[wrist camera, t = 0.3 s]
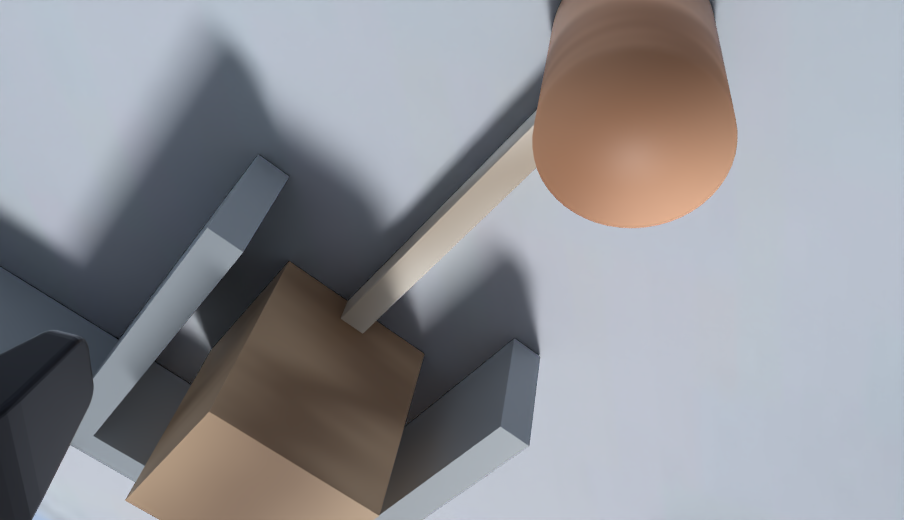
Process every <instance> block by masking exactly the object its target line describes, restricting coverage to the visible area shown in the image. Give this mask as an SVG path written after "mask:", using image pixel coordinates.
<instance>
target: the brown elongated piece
mask: <svg viewBox="0 0 904 520" xmlns="http://www.w3.org/2000/svg"><path fill="white" fill-rule="evenodd" d="M736 147H737V125H736V118H735V114H734V109H733V104H732V99H731V95H730V90H729V85H728V80H727V76H726V71H725V66H724V61H723V57H722V52H721V47H720V42H719V38H718V33H717V28H716V23H715V19H714V14H713V10H712V7H711V4H710V2H709V0H562V1H561V3H560V5H559V7H558V10H557V12H556V15H555V19H554V22H553V27H552V33H551V38H550V43H549V49H548V54H547V59H546V64H545V70H544V75H543V80H542V85H541V91H540V96H539V101H538V106H537V110H536V111H535V112H534V113H533V114H532V115H531V116H530V117H529V118H528V119H527V120H526V121H525V122H524V123H523V124H522V125H521V126H520V127H519V128H518V129H517V130H516V131H515V132H514V133H513V134H512V135H511V136H510V137H509V138H508V139H507V140H506V141H505V142H504V143H503V144H502V145H501V146H500V147H499V148H498V149H497V150H496V151H495V152H494V153H493V154H492V155H491V156H490V158H489V159H488V160H487V161H486V162H485V163H484V164H483V165H482V166H481V167H480V168H479V169H478V170H477V171H476V172H475V173H474V174H473V175H472V176H471V177H470V178H469V179H468V180H467V181H466V182H465V183H464V184H463V185H462V186H461V187H460V188H459V189H458V190H457V191H456V192H455V193H454V194H453V195H452V196H451V197H450V198H449V199H448V200H447V201H446V202H445V203H444V204H443V205H442V206H441V207H440V208H439V209H438V210H437V211H436V212H435V213H434V214H433V215H432V216H431V217H430V218H429V219H428V220H427V221H426V222H425V223H424V224H423V225H422V226H421V227H420V228H419V229H418V230H417V231H416V233H415V234H414V235H413V236H412V237H411V238H410V239H409V240H408V241H407V242H406V243H405V244H404V245H403V246H402V247H401V248H400V249H399V250H398V251H397V252H396V253H395V254H394V255H393V256H392V257H391V258H390V259H389V260H388V261H387V262H386V263H385V264H384V265H383V266H382V267H381V268H380V269H379V270H378V271H377V272H376V273H375V274H374V275H373V276H372V277H371V278H370V279H369V280H368V281H367V282H366V283H365V284H364V285H363V286H362V287H361V288H360V289H359V290H358V291H357V292H356V293H355V294H354V295H353V296H352V297H351V298H350V299H349V300H348V301H347V300H345V299H344V298H342V297H341V296H339V295H338V294H336V293H335V292H334V291H332V290H331V289H329V288H328V287H326V286H325V285H323V284H322V283H320V282H319V281H318V280H316V279H315V278H313V277H312V276H310V275H309V274H307V273H306V272H304V271H303V270H302V269H300V268H299V267H297V266H296V265H294V264H293V263H291V262H290V261H289V262H288V263H287V264H286V265H285V266H284V267H283V268H282V270H281V271H280V272H279V273H278V274H277V275H276V276H275V278H274V279H273V280H272V281H271V282H270V283H269V284H268V286H267V287H266V288H265V289H264V290H263V291H262V292H261V294H260V295H259V296H258V297H257V298H256V299H255V300H254V302H253V303H252V304H251V305H250V306H249V307H248V308H247V310H246V311H245V312H244V313H243V314H242V315H241V316H240V318H239V319H238V320H237V321H236V322H235V323H234V324H233V326H232V327H231V328H230V329H229V330H228V331H227V332H226V334H225V335H224V336H223V337H222V338H221V339H220V340H219V342H218V343H217V344H216V345H215V346H214V347H213V348H212V350H211V351H210V353H209V355H208V356H207V358H206V360H205V362H204V363H203V365H202V367H201V369H200V370H199V372H198V374H197V376H196V377H195V379H194V381H193V383H192V384H191V386H190V388H189V390H188V391H187V393H186V395H185V397H184V398H183V400H182V402H181V404H180V405H179V407H178V409H177V411H176V412H175V414H174V416H173V418H172V419H171V421H170V423H169V425H168V426H167V428H166V430H165V432H164V433H163V435H162V437H161V439H160V440H159V442H158V444H157V446H156V447H155V449H154V451H153V453H152V454H151V456H150V458H149V460H148V461H147V463H146V465H145V467H144V468H143V470H142V472H141V474H140V475H139V477H138V479H137V481H136V482H135V484H134V486H133V488H132V489H131V491H130V493H129V494H128V496H127V498H126V500H125V501H127V502H129V503H131V504H132V505H134V506H136V507H138V508H139V509H141V510H143V511H145V512H147V513H148V514H150V515H152V516H154V517H155V518H157V519H159V520H374V519H376V518H377V517H379V515H380V512H381V508H382V505H383V501H384V497H385V494H386V490H387V487H388V483H389V479H390V476H391V472H392V469H393V465H394V462H395V458H396V454H397V451H398V447H399V444H400V440H401V437H402V433H403V429H404V426H405V422H406V419H407V415H408V411H409V408H410V404H411V401H412V397H413V394H414V390H415V386H416V383H417V379H418V376H419V372H420V369H421V365H422V361H423V358H424V353H422V352H421V351H419V350H418V349H417V348H415V347H414V346H412V345H411V344H409V343H408V342H406V341H405V340H403V339H402V338H401V337H399V336H398V335H396V334H395V333H393V332H392V331H390V330H389V329H387V328H386V327H385V326H383V325H382V324H380V323H379V322H377V320H378V319H379V318H380V317H381V316H382V315H383V314H384V313H385V312H386V311H387V310H388V309H389V308H390V307H391V306H392V305H393V304H394V303H395V302H396V301H397V300H398V299H400V298H401V297H402V296H403V295H404V294H405V293H406V292H407V291H408V290H409V289H410V288H411V287H412V286H413V285H414V284H415V283H416V282H417V281H418V280H419V279H420V278H421V277H422V276H424V275H425V274H426V273H427V272H428V271H429V270H430V269H431V268H432V267H433V266H434V265H435V264H436V263H437V262H438V261H439V260H440V259H441V258H442V257H443V256H444V255H445V254H447V253H448V252H449V251H450V250H451V249H452V248H453V247H454V246H455V245H456V244H457V243H458V242H459V241H460V240H461V239H462V238H463V237H464V236H465V235H466V234H467V233H468V232H469V231H471V230H472V229H473V228H474V227H475V226H476V225H477V224H478V223H479V222H480V221H481V220H482V219H483V218H484V217H485V216H486V215H487V214H488V213H489V212H490V211H491V210H492V209H494V208H495V207H496V206H497V205H498V204H499V203H500V202H501V201H502V200H503V199H504V198H505V197H506V196H507V195H508V194H509V193H510V192H511V191H512V190H513V189H514V188H515V187H517V186H518V185H519V184H520V183H521V182H522V181H523V180H524V179H525V178H526V177H527V176H528V175H529V174H530V173H531V172H532V171H533V170H534V169H535V168H536V167H537V170H538V172H539V174H540V177H541V179H542V181H543V182H544V184H545V185H546V187H547V188H548V190H549V191H550V192H551V193H552V194H553V195H554V197H555V198H556V199H557V200H558V201H560V202H561V203H562V204H563V205H564V206H565V207H567V208H568V209H570V210H571V211H573V212H574V213H576V214H578V215H580V216H582V217H583V218H586V219H588V220H591V221H593V222H596V223H600V224H603V225H607V226H613V227H620V228H641V227H650V226H655V225H660V224H663V223H667V222H670V221H673V220H675V219H678V218H680V217H682V216H684V215H686V214H688V213H690V212H692V211H693V210H695V209H696V208H697V207H699V206H700V205H702V204H703V203H704V202H705V201H706V200H708V199H709V198H710V197H711V196H712V195H713V194H714V193H715V191H716V190H717V189H718V188H719V187H720V185H721V184H722V182H723V181H724V179H725V178H726V176H727V174H728V172H729V170H730V168H731V166H732V163H733V160H734V157H735V154H736Z"/></svg>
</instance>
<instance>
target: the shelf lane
mask: <svg viewBox="0 0 904 520" xmlns="http://www.w3.org/2000/svg"><path fill="white" fill-rule="evenodd" d="M288 178H289V176H288V175H286V174H285V173H284V172H282V171H281V170H280V169H278V168H277V167H275V166H274V165H273V164H271V163H270V162H268V161H267V160H266V159H264V158H263V157H261V156H260V155H259V154H258V155H257V157H256V158H255V159H254V161H253V162H252V163H251V165H250V166H249V167H248V169H247V170H246V171H245V173H244V174H243V175H242V177H241V178H240V179H239V181H238V182H237V183H236V185H235V186H234V187H233V189H232V190H231V191H230V193H229V194H228V195H227V197H226V198H225V199H224V201H223V202H222V203H221V205H220V206H219V207H218V208H217V210H216V211H215V212H214V214H213V215H212V216H211V218H210V219H209V220H208V222H207V223H206V224H205V226H204V227H203V228H202V230H201V231H200V232H199V234H198V235H197V236H196V238H195V239H194V240H193V242H192V243H191V244H190V246H189V247H188V248H187V250H186V251H185V252H184V254H183V255H182V256H181V258H180V259H179V260H178V262H177V263H176V264H175V266H174V267H173V268H172V270H171V271H170V272H169V274H168V275H167V276H166V278H165V279H164V280H163V282H162V283H161V284H160V286H159V287H158V288H157V290H156V291H155V292H154V294H153V295H152V296H151V298H150V299H149V300H148V302H147V303H146V304H145V306H144V307H143V308H142V310H141V311H140V312H139V314H138V315H137V316H136V318H135V319H134V320H133V322H132V323H131V324H130V326H129V327H128V328H127V330H126V331H125V332H124V334H123V335H122V336H121V338H120V339H119V340H118V339H116V338H115V337H113V336H111V335H110V334H108V333H107V332H105V331H103V330H102V329H100V328H99V327H97V326H95V325H94V324H92V323H90V322H89V321H87V320H86V319H84V318H82V317H81V316H79V315H77V314H76V313H74V312H73V311H71V310H69V309H68V308H66V307H65V306H63V305H61V304H60V303H58V302H56V301H55V300H53V299H52V298H50V297H48V296H47V295H45V294H44V293H42V292H40V291H39V290H37V289H35V288H34V287H32V286H31V285H29V284H27V283H26V282H24V281H23V280H21V279H19V278H18V277H16V276H14V275H13V274H11V273H10V272H8V271H6V270H5V269H3V268H1V267H0V354H1V353H3V352H5V351H7V350H9V349H11V348H13V347H15V346H17V345H19V344H21V343H23V342H25V341H27V340H29V339H31V338H33V337H34V336H36V335H38V334H40V333H42V332H45V331H48V330H58V331H62V332H66V333H70V334H74V335H78V336H81V337H83V338H84V339H85V340H86V341H87V343H88V347H89V353H90V361H91V368H92V376H93V384H94V389H93V396H92V400H91V403H90V405H89V407H88V410H87V412H86V414H85V416H84V418H83V420H82V422H81V424H80V426H79V428H78V430H77V432H76V434H75V436H74V438H73V440H72V442H71V444H70V445H71V446H73V447H75V448H76V449H78V450H80V451H82V452H83V453H85V454H87V455H89V456H90V457H92V458H94V459H96V460H97V461H99V462H101V463H103V464H104V465H106V466H108V467H110V468H111V469H113V470H115V471H117V472H118V473H120V474H122V475H124V476H125V477H127V478H129V479H131V480H132V481H134V482H136V481H137V479H138V477H139V475H140V474H141V472H142V470H143V468H144V467H145V465H146V463H147V461H148V460H149V458H150V456H151V454H152V453H153V451H154V449H155V447H156V446H157V444H158V442H159V440H160V439H161V437H162V435H163V433H164V432H165V430H166V428H167V426H168V425H169V423H170V421H171V419H172V418H173V416H174V414H175V412H176V411H177V409H178V407H179V405H180V404H181V402H182V400H183V398H184V397H185V395H186V393H187V391H188V390H189V388H190V386H191V384H189V383H187V382H186V381H184V380H183V379H181V378H179V377H178V376H176V375H175V374H173V373H171V372H170V371H168V370H166V369H165V368H163V367H162V366H160V365H158V364H157V363H155V362H154V361H155V360H156V358H157V357H158V356H159V355H160V353H161V352H162V351H163V350H164V349H165V347H166V346H167V345H168V344H169V342H170V341H171V340H172V339H173V338H174V336H175V335H176V334H177V333H178V331H179V330H180V329H181V328H182V327H183V325H184V324H185V323H186V322H187V320H188V319H189V318H190V317H191V316H192V314H193V313H194V312H195V311H196V309H197V308H198V307H199V306H200V305H201V303H202V302H203V301H204V300H205V298H206V297H207V296H208V295H209V293H210V292H211V291H212V290H213V289H214V287H215V286H216V285H217V284H218V282H219V281H220V280H221V279H222V278H223V276H224V275H225V274H226V273H227V271H228V270H229V269H230V268H231V267H232V265H233V264H234V263H235V262H236V260H237V259H238V258H239V257H240V256H241V254H242V253H243V252H244V250H245V248H246V247H247V245H248V244H249V242H250V240H251V239H252V237H253V235H254V234H255V232H256V230H257V229H258V227H259V225H260V224H261V222H262V221H263V219H264V217H265V216H266V214H267V212H268V211H269V209H270V207H271V206H272V204H273V203H274V201H275V199H276V198H277V196H278V194H279V193H280V191H281V189H282V188H283V186H284V184H285V183H286V181H287V180H288ZM539 362H540V356H539V355H537V354H536V353H534V352H533V351H532V350H530V349H529V348H527V347H526V346H525V345H523V344H522V343H521V342H519V341H518V340H516V339H515V338H514V339H513V340H512V341H511V342H509V343H508V344H507V345H506V346H504V347H503V348H502V349H501V350H499V351H498V352H497V353H496V354H494V355H493V356H492V357H491V358H490V359H488V360H487V361H486V362H485V363H483V364H482V365H481V366H480V367H478V368H477V369H476V370H475V371H473V372H472V373H471V374H470V375H469V376H467V377H466V378H465V379H464V380H462V381H461V382H460V383H459V384H457V385H456V386H455V387H454V388H452V389H451V390H450V391H449V392H448V393H446V394H445V395H444V396H443V397H441V398H440V399H439V400H438V401H436V402H435V403H434V404H433V405H431V406H430V407H429V408H428V409H426V410H425V411H424V412H423V413H422V414H420V415H419V416H418V417H417V418H415V419H414V420H413V421H412V422H410V423H409V424H408V425H407V426H405V427H404V429H403V433H402V437H401V440H400V444H399V447H398V451H397V454H396V458H395V462H394V465H393V469H392V472H391V476H390V479H389V483H388V487H387V490H386V494H385V497H384V501H383V505H382V508H381V512H380V515H379V517H377V518H376V519H374V520H423V519H425V518H426V517H428V516H429V515H430V514H432V513H433V512H435V511H436V510H438V509H439V508H441V507H442V506H443V505H445V504H446V503H448V502H449V501H451V500H452V499H454V498H455V497H456V496H458V495H459V494H461V493H462V492H464V491H465V490H467V489H468V488H469V487H471V486H472V485H474V484H475V483H477V482H478V481H480V480H481V479H482V478H484V477H485V476H487V475H488V474H490V473H491V472H493V471H494V470H496V469H497V468H498V467H500V466H501V465H503V464H504V463H506V462H507V461H509V460H510V459H511V458H513V457H514V456H516V455H517V454H519V453H520V452H522V451H523V450H524V449H526V448H527V447H529V444H530V436H531V428H532V420H533V411H534V403H535V395H536V386H537V378H538V370H539Z"/></svg>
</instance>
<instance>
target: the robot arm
mask: <svg viewBox="0 0 904 520" xmlns="http://www.w3.org/2000/svg"><path fill="white" fill-rule="evenodd" d="M93 389H94V384H93V376H92V368H91V361H90V353H89V347H88V343H87V341H86V340H85V339H84V338H83V337H81V336H78V335H74V334H70V333H66V332H62V331H58V330H48V331H45V332H42V333H40V334H38V335H36V336H34V337H33V338H31V339H29V340H27V341H25V342H23V343H21V344H19V345H17V346H15V347H13V348H11V349H9V350H7V351H5V352H3V353H1V354H0V520H32V518H33V517H34V515H35V513H36V511H37V509H38V507H39V505H40V504H41V502H42V500H43V498H44V496H45V494H46V492H47V490H48V488H49V486H50V484H51V482H52V480H53V478H54V476H55V474H56V472H57V470H58V468H59V466H60V464H61V462H62V460H63V458H64V456H65V454H66V452H67V450H68V448H69V446H70V444H71V442H72V440H73V438H74V436H75V434H76V432H77V430H78V428H79V426H80V424H81V422H82V420H83V418H84V416H85V414H86V412H87V410H88V407H89V405H90V403H91V400H92V396H93Z"/></svg>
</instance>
